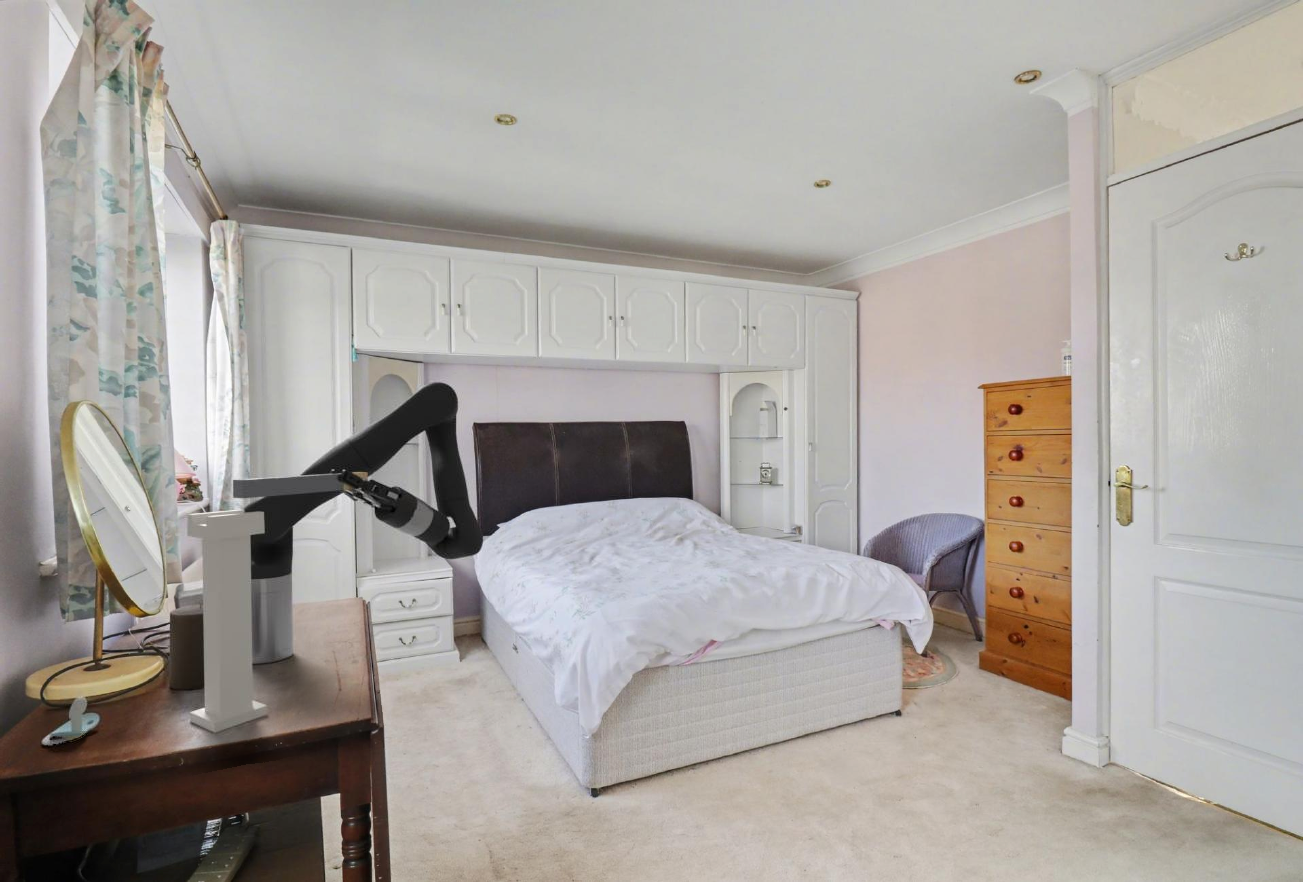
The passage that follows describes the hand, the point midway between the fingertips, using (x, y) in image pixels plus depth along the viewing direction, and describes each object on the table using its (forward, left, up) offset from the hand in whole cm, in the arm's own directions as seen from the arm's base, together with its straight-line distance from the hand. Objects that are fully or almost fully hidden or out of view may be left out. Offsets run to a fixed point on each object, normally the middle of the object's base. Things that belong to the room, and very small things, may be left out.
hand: (336, 474), depth 127 cm
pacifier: (-14, -36, -39) cm, 55 cm away
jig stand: (0, -19, -39) cm, 43 cm away
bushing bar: (0, -6, -3) cm, 7 cm away
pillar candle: (-23, -13, -39) cm, 47 cm away
